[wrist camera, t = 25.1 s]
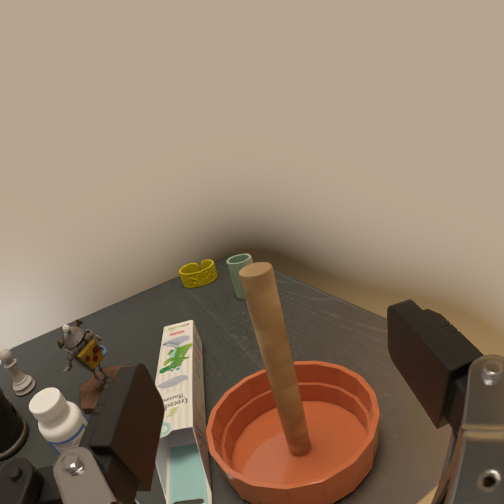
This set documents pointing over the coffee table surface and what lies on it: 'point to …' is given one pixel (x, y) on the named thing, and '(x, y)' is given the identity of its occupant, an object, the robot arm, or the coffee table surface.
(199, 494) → the box
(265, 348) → the stick
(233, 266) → the holder
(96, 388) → the robot figurine
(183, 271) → the bracelet
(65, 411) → the pill bottle
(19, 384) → the chess piece
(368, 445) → the bowl
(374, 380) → the coffee table surface
